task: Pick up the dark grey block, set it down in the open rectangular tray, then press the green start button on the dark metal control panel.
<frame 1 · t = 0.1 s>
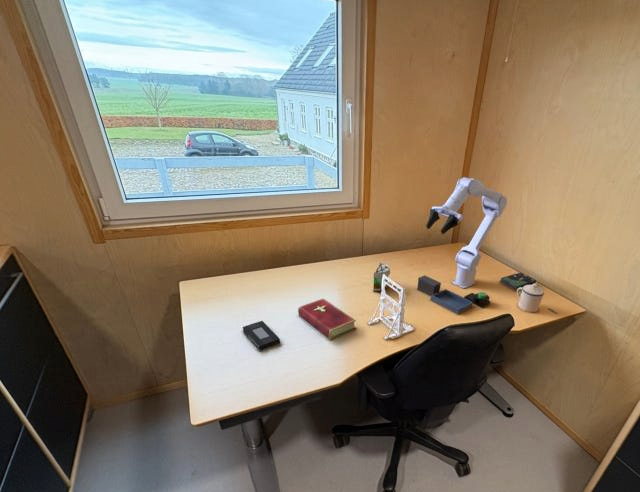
hand: (434, 230, 142), 32 cm above the table, tool tilted 50°, fingers open, 7 cm apart
vhs tape: (261, 337, 129), on the table
start button: (482, 295, 158), point 4 cm above the table, slide at 0.1 cm
food container: (382, 288, 167), on the table
hardcover book: (326, 322, 140), on the table
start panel: (476, 301, 161), on the table
teacup with lid: (525, 306, 161), on the table
disk drive: (517, 284, 180), on the table
open rectangular tray: (451, 303, 158), on the table
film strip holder: (391, 327, 140), on the table
dark grey block: (428, 292, 166), on the table
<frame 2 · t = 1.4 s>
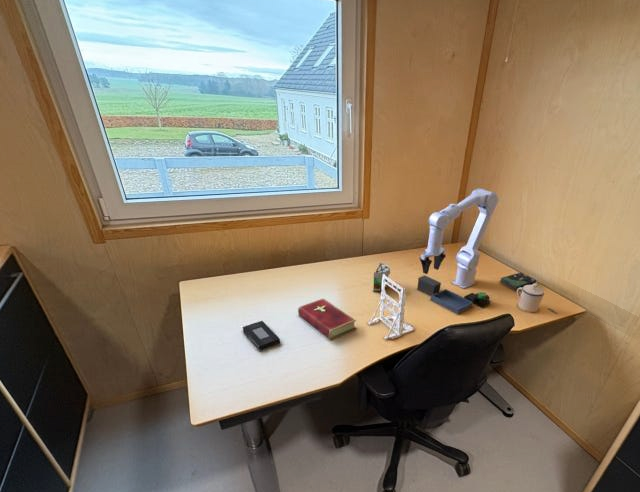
hand: (430, 271, 160), 11 cm above the table, tool pointing down, fingers open, 7 cm apart
nothing on the table moved.
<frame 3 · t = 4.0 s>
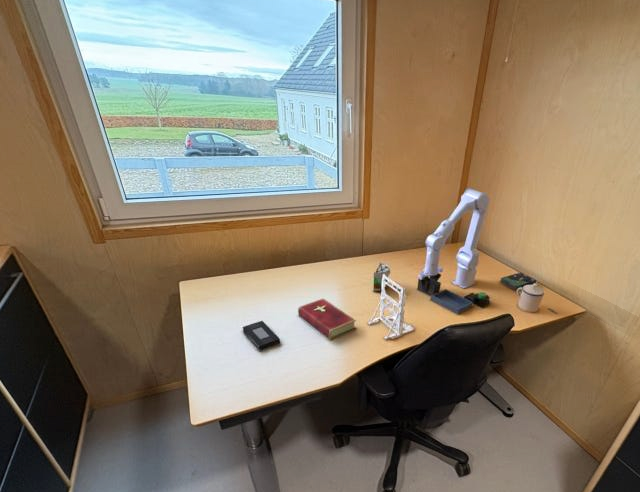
hand: (428, 289, 165), 1 cm above the table, tool pointing down, fingers closed on dark grey block, 4 cm apart
dark grey block: (428, 292, 166), on the table, touching gripper
everything else where it was.
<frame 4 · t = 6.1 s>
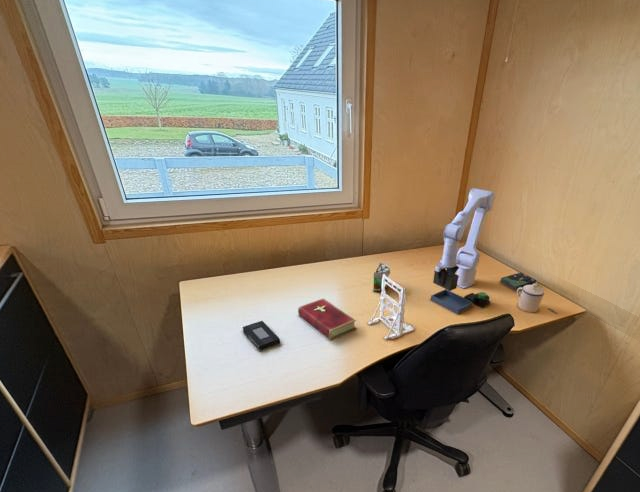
hand: (445, 282, 157), 8 cm above the table, tool pointing down, fingers closed on dark grey block, 4 cm apart
dark grey block: (444, 285, 157), point 7 cm above the table, touching gripper
everything else where it was.
when the fingers open (2 cm above the table, at t = 8.6 s): dark grey block stays where it is, resting on open rectangular tray.
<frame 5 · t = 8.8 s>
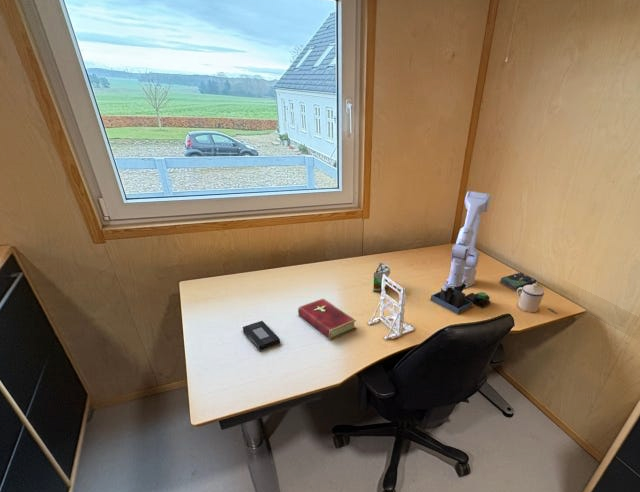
hand: (451, 300, 157), 2 cm above the table, tool pointing down, fingers open, 5 cm apart
dark grey block: (451, 303, 158), resting on open rectangular tray
everything else where it was.
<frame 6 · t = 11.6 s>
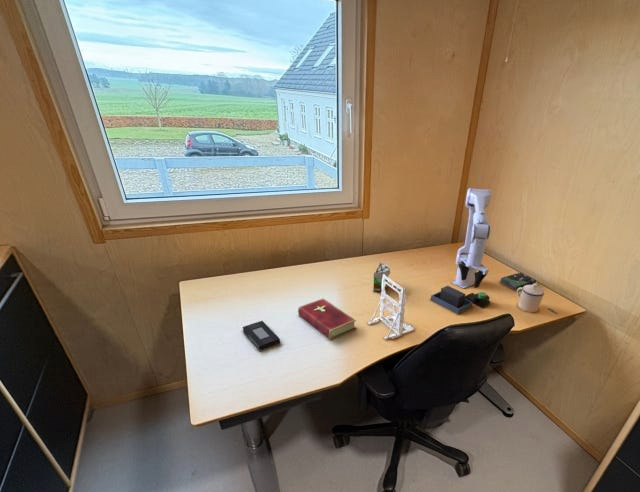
hand: (469, 283, 153), 10 cm above the table, tool pointing down, fingers open, 7 cm apart
nothing on the table moved.
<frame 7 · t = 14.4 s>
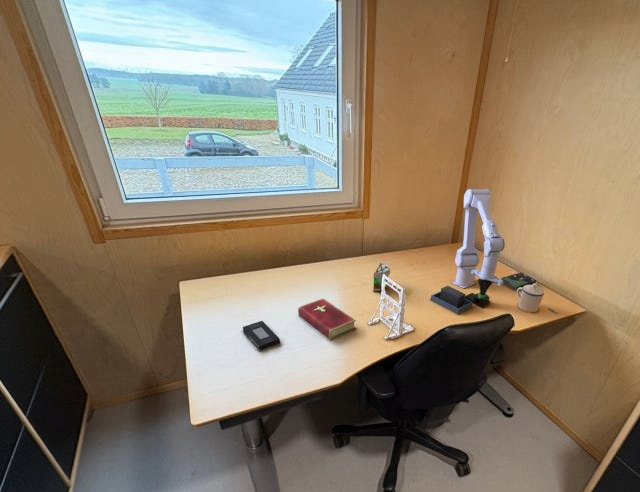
hand: (482, 294, 158), 5 cm above the table, tool pointing down, fingers closed, pressing on start button
start button: (482, 295, 158), point 4 cm above the table, slide at -0.1 cm, touching gripper
everything else where it was.
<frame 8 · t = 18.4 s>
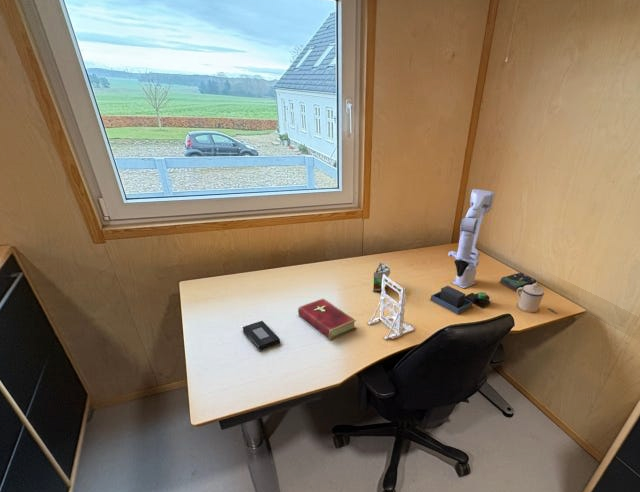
hand: (459, 275, 159), 10 cm above the table, tool pointing down, fingers closed
start button: (482, 295, 158), point 4 cm above the table, slide at 0.1 cm
everything else where it was.
at the end: dark grey block 0.1 cm off-centre in the open rectangular tray, point 0.3 cm above the open rectangular tray's base; start button pushed in 1.4 cm at the most during the clip, back to where it started at the end; start button slide at 0.1 cm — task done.
